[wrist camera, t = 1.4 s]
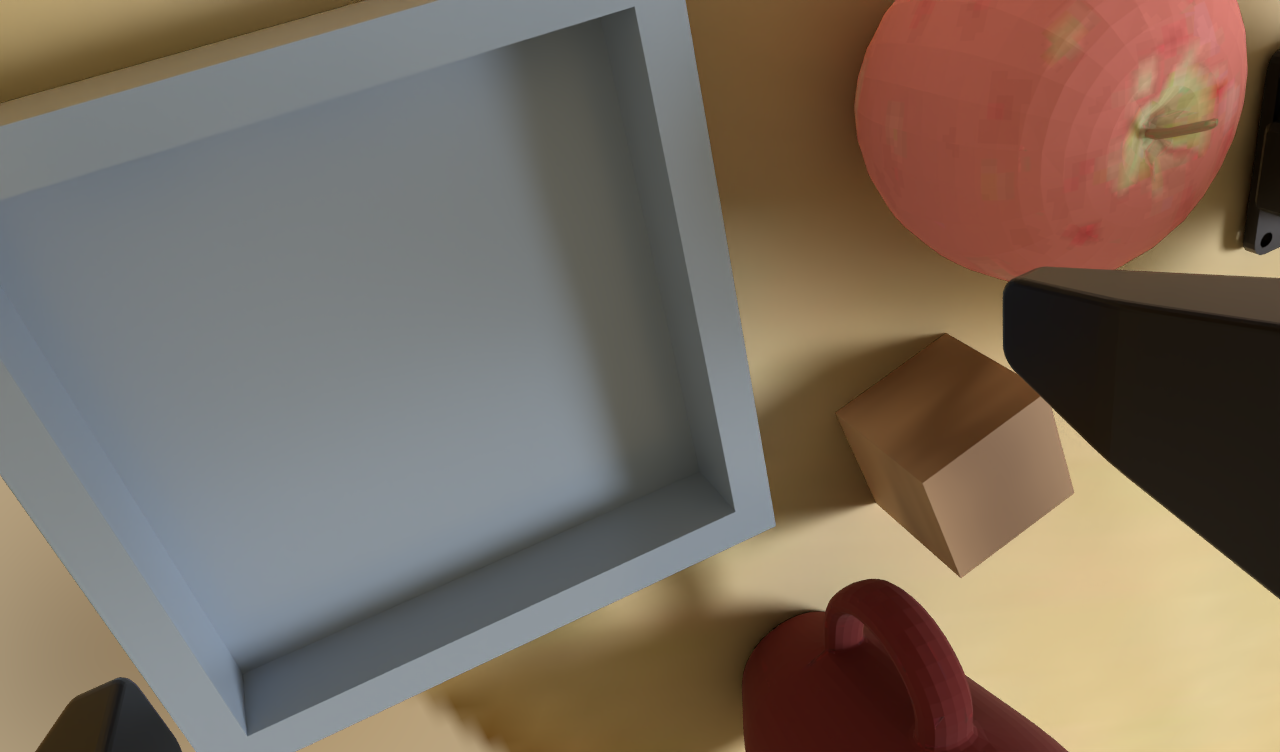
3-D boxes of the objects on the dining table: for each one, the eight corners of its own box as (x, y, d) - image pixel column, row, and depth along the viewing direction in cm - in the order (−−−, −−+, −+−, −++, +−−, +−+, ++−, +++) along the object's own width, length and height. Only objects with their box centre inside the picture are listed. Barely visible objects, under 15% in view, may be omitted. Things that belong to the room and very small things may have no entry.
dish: (618, -72, 19) (673, -68, 17) (728, 474, 26) (775, 526, 24) (-151, 145, 16) (-206, 184, 13) (218, 703, 23) (220, 786, 21)
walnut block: (944, 331, 27) (1046, 391, 24) (976, 426, 30) (1074, 493, 26) (833, 411, 27) (922, 483, 24) (874, 501, 29) (960, 578, 26)
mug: (637, 570, 26) (840, 875, 18) (880, 452, 28) (1164, 680, 20) (709, 795, 32) (890, 1107, 24) (909, 683, 34) (1140, 937, 25)
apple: (797, -86, 20) (1087, -78, 14) (1062, -101, 23) (1418, -100, 16) (784, 243, 24) (1012, 376, 17) (1017, 200, 26) (1294, 301, 20)
